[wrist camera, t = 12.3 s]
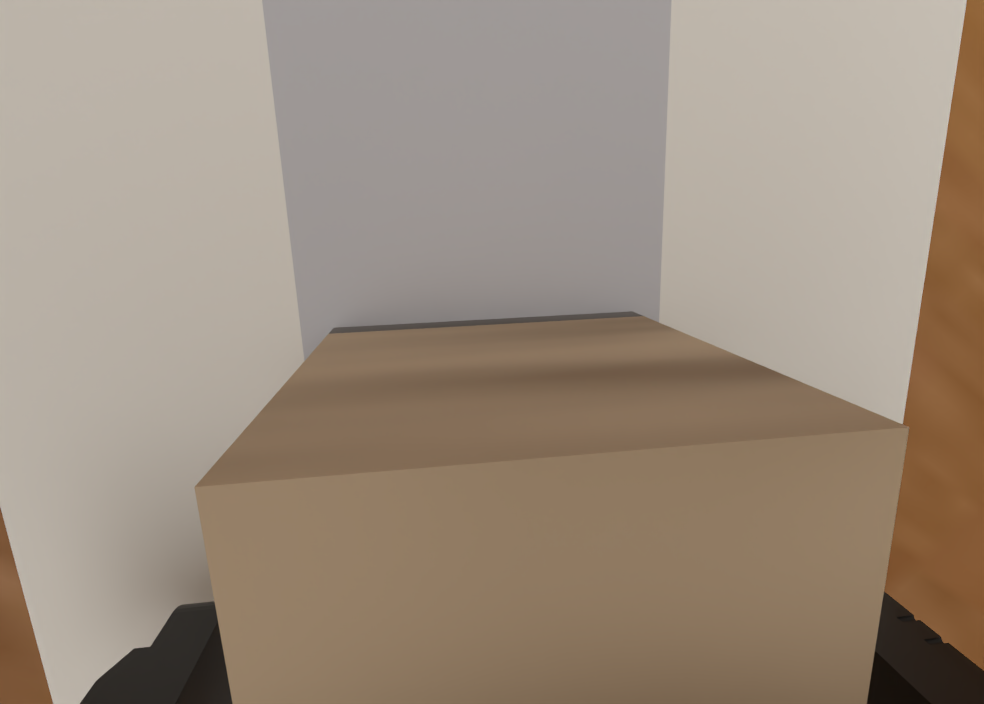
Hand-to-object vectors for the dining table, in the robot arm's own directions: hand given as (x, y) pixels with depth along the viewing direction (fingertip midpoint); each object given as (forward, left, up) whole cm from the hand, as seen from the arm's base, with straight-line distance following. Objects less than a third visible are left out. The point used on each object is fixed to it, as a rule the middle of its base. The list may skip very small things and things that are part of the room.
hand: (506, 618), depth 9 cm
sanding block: (0, 0, -2) cm, 2 cm away
